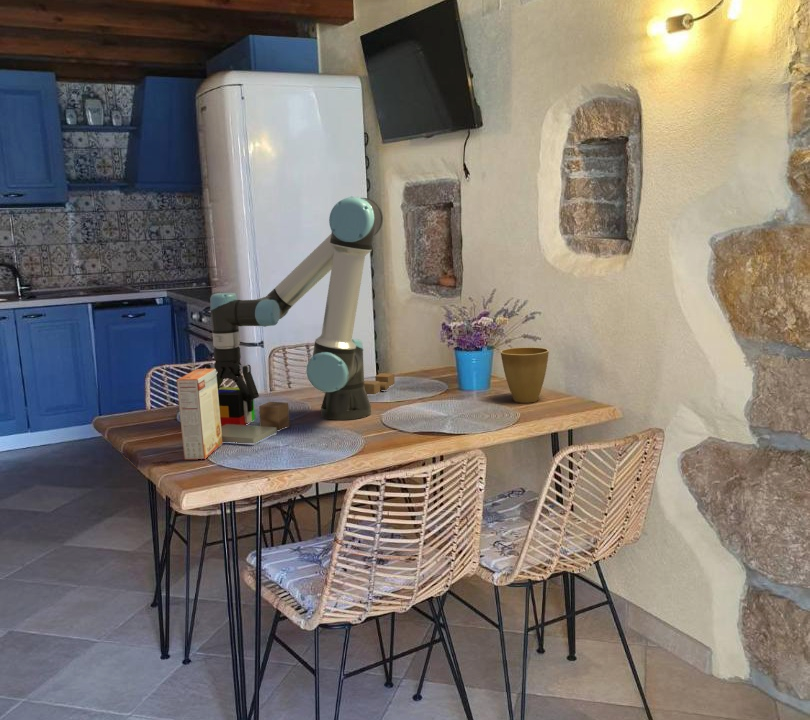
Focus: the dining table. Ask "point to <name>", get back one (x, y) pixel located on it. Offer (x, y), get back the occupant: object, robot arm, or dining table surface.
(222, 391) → the puzzle toy
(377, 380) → the wooden block set
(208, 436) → the cracker box
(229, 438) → the slate tile
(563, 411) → the dining table surface
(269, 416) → the walnut block
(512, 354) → the plant pot
